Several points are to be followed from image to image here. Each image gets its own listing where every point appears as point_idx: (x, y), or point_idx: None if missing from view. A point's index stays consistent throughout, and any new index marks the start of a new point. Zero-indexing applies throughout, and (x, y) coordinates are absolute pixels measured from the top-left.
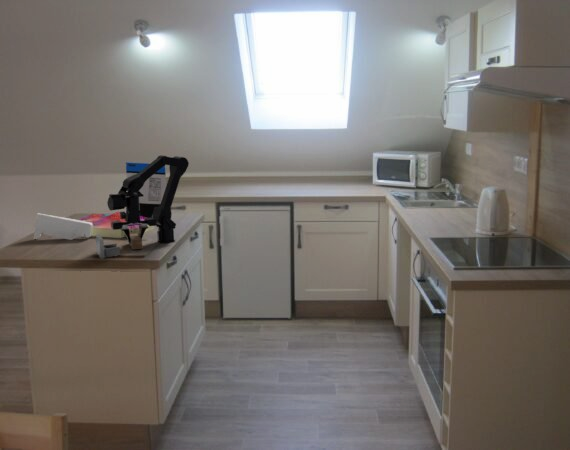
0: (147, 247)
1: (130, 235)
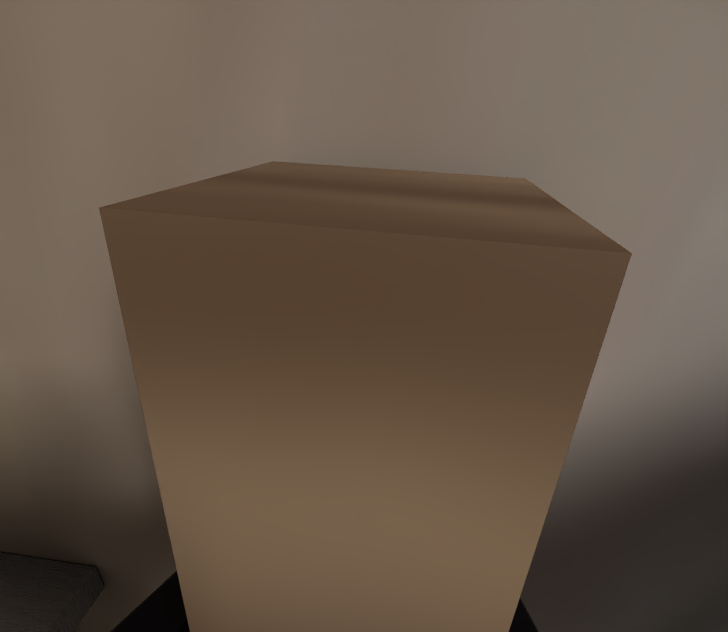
0: (547, 595)
1: (226, 567)
